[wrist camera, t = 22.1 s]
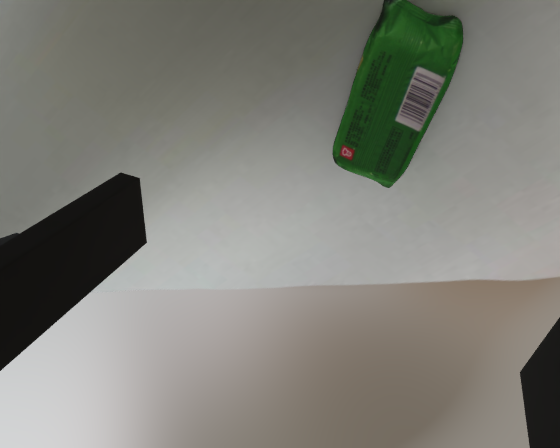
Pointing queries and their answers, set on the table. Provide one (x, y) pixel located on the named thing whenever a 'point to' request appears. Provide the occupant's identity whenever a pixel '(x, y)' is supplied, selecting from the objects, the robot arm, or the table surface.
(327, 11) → the table surface
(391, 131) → the snack package
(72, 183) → the table surface
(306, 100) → the table surface
